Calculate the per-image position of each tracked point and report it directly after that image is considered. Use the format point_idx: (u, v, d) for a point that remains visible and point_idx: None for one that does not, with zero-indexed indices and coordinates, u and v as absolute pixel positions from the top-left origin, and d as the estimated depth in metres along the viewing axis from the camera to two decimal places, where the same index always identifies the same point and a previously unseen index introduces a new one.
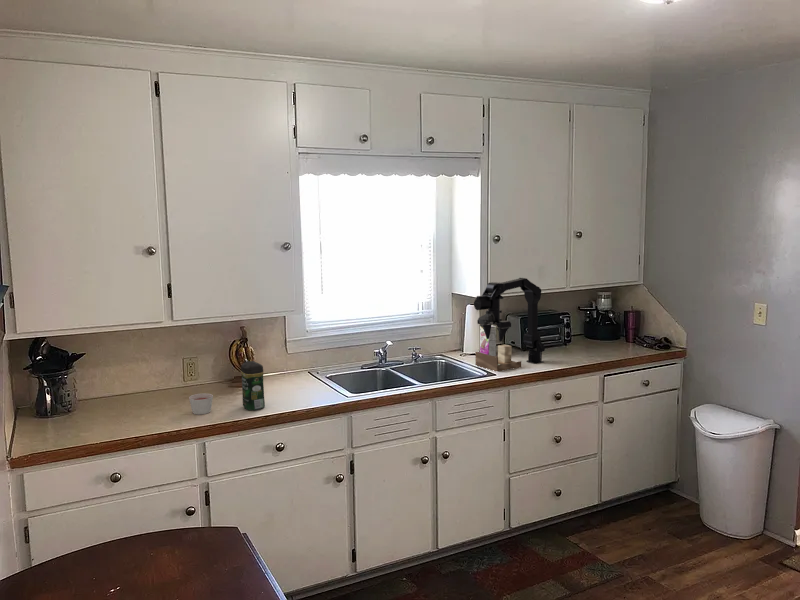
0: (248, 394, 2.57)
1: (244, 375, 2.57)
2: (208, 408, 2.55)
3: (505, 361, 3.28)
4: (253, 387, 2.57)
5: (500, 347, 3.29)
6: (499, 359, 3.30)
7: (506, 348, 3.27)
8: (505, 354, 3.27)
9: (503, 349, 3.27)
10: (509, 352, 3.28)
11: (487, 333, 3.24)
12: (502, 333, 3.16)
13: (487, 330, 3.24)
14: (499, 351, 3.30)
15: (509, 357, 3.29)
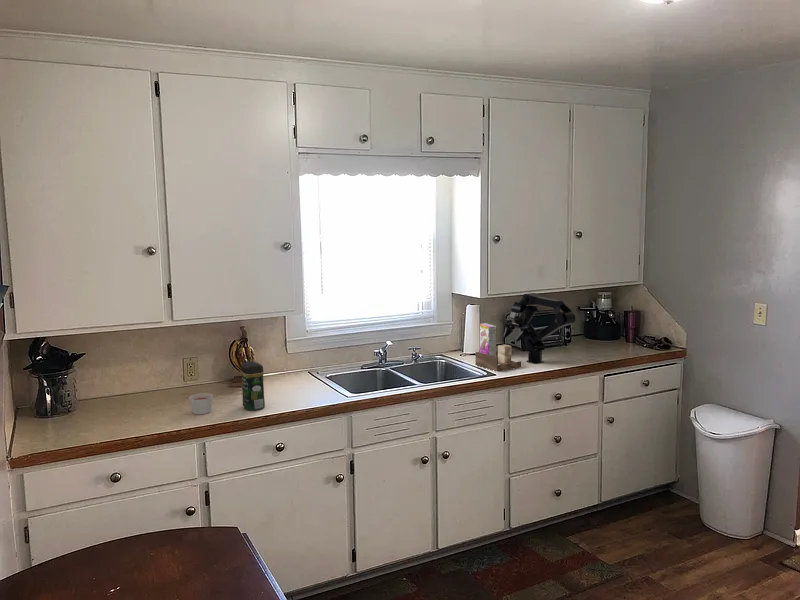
0: (248, 394, 2.57)
1: (244, 375, 2.57)
2: (208, 408, 2.55)
3: (505, 361, 3.28)
4: (253, 387, 2.57)
5: (500, 347, 3.29)
6: (499, 359, 3.30)
7: (506, 348, 3.27)
8: (505, 354, 3.27)
9: (503, 349, 3.27)
10: (509, 352, 3.28)
11: (506, 333, 3.37)
12: (522, 335, 3.29)
13: (507, 331, 3.37)
14: (499, 351, 3.30)
15: (509, 357, 3.29)
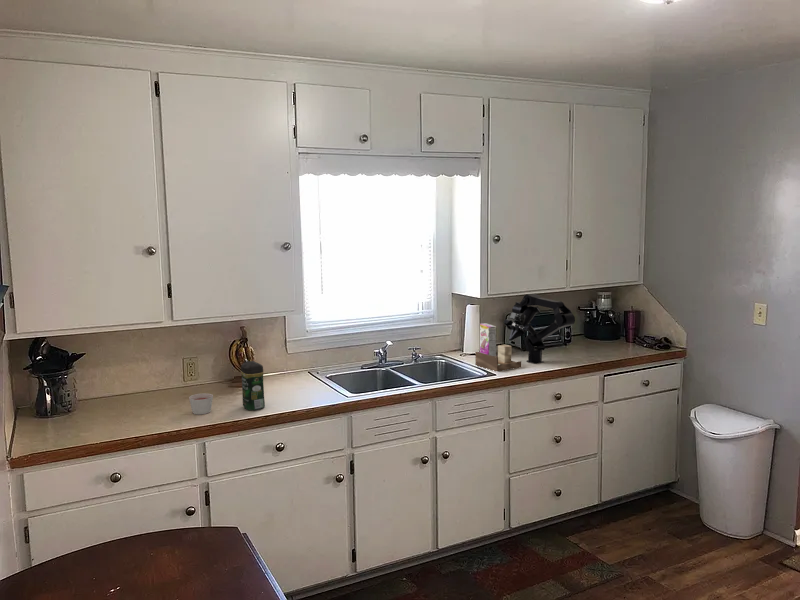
0: (248, 394, 2.57)
1: (244, 375, 2.57)
2: (208, 408, 2.55)
3: (505, 361, 3.28)
4: (253, 387, 2.57)
5: (500, 347, 3.29)
6: (499, 359, 3.30)
7: (506, 348, 3.27)
8: (505, 354, 3.27)
9: (503, 349, 3.27)
10: (509, 352, 3.28)
11: None
12: (516, 334, 3.33)
13: None
14: (499, 351, 3.30)
15: (509, 357, 3.29)
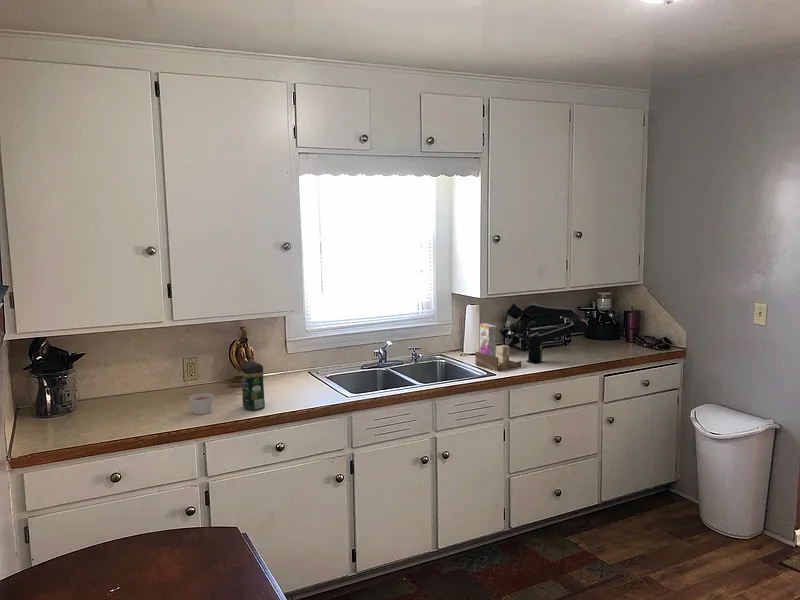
0: (248, 394, 2.57)
1: (244, 375, 2.57)
2: (208, 408, 2.55)
3: (503, 361, 3.27)
4: (253, 387, 2.57)
5: (498, 347, 3.28)
6: None
7: (504, 348, 3.26)
8: (503, 354, 3.26)
9: (501, 349, 3.27)
10: (507, 352, 3.28)
11: None
12: (512, 342, 3.31)
13: None
14: (497, 351, 3.29)
15: (507, 357, 3.28)
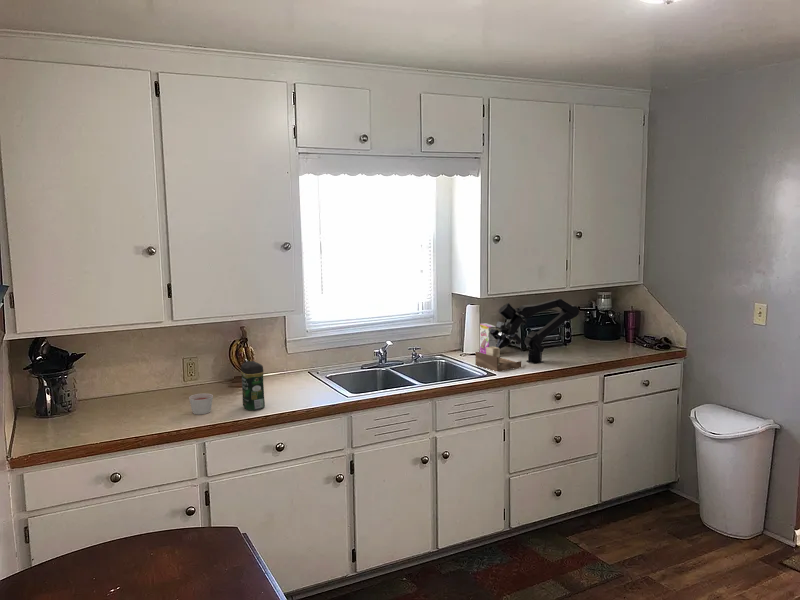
0: (248, 394, 2.57)
1: (244, 375, 2.57)
2: (208, 408, 2.55)
3: None
4: (253, 387, 2.57)
5: (488, 349, 3.25)
6: None
7: (494, 350, 3.23)
8: None
9: (491, 351, 3.23)
10: (497, 354, 3.24)
11: None
12: (502, 344, 3.27)
13: None
14: (487, 353, 3.25)
15: None
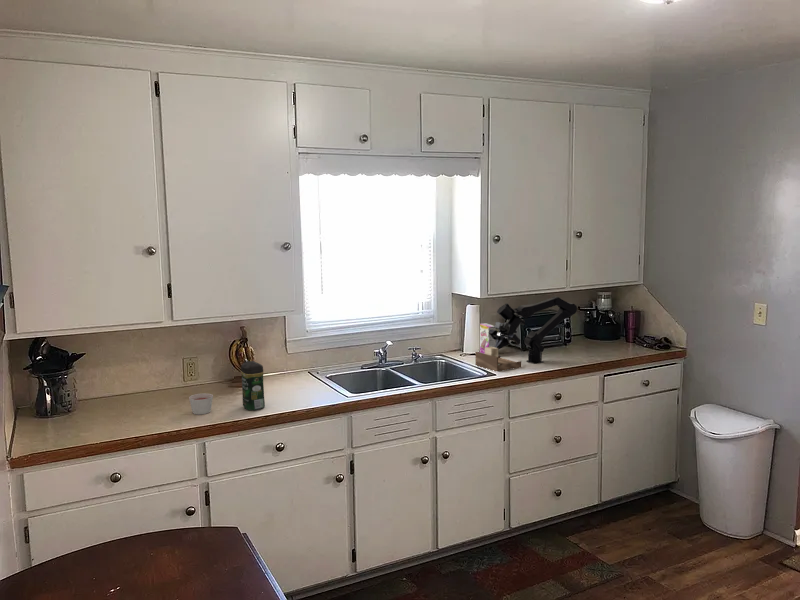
0: (248, 394, 2.57)
1: (244, 375, 2.57)
2: (208, 408, 2.55)
3: None
4: (253, 387, 2.57)
5: (487, 349, 3.24)
6: None
7: (493, 350, 3.22)
8: None
9: (490, 351, 3.22)
10: (496, 354, 3.24)
11: None
12: (501, 344, 3.26)
13: None
14: (486, 353, 3.25)
15: None
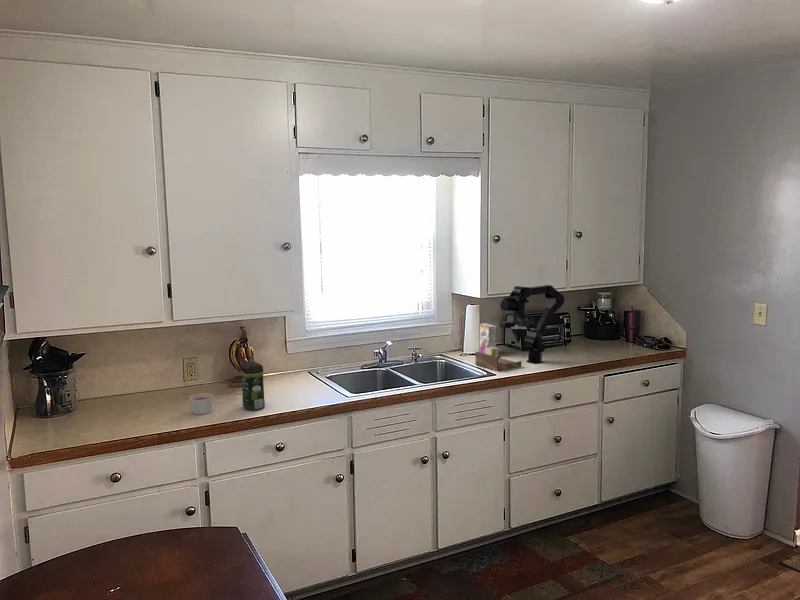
0: (248, 394, 2.57)
1: (244, 375, 2.57)
2: (208, 408, 2.55)
3: None
4: (253, 387, 2.57)
5: (487, 349, 3.24)
6: None
7: (493, 350, 3.22)
8: None
9: (490, 351, 3.22)
10: (496, 354, 3.24)
11: None
12: None
13: None
14: (486, 353, 3.25)
15: None
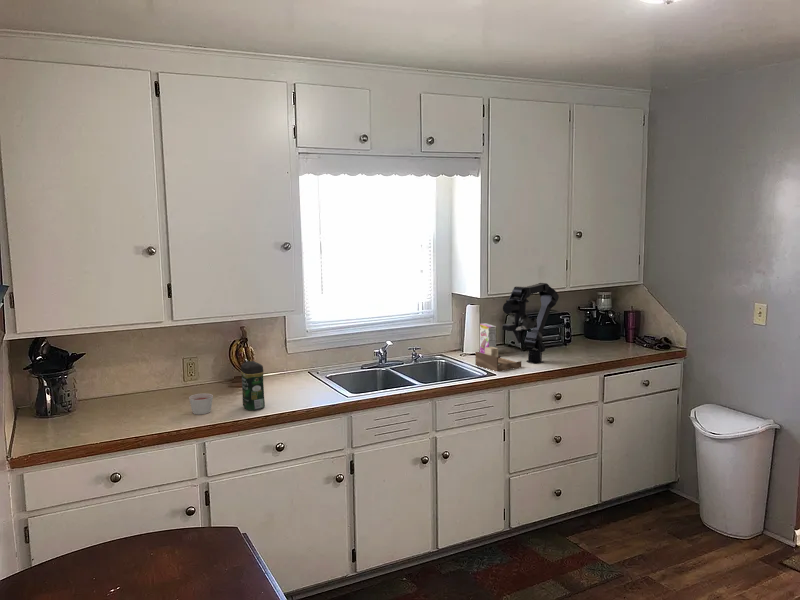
0: (248, 394, 2.57)
1: (244, 375, 2.57)
2: (208, 408, 2.55)
3: None
4: (253, 387, 2.57)
5: (487, 349, 3.24)
6: None
7: (493, 350, 3.22)
8: None
9: (490, 351, 3.22)
10: (496, 354, 3.24)
11: None
12: None
13: None
14: (486, 353, 3.25)
15: None
